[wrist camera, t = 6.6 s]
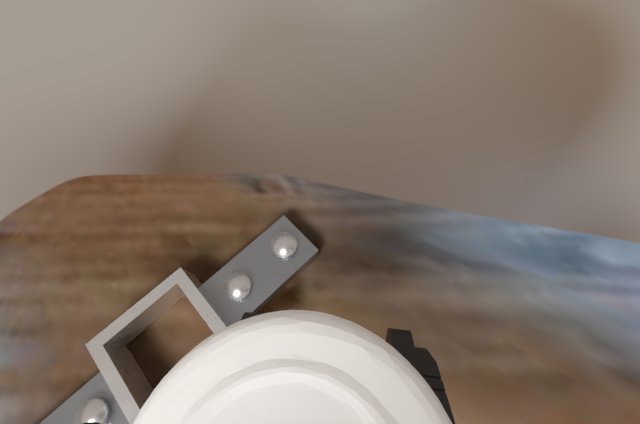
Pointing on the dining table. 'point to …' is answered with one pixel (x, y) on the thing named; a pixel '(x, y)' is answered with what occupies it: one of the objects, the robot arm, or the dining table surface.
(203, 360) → the sprinkles bottle
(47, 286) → the dining table surface
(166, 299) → the link socket
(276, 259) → the right link bar
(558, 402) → the dining table surface
